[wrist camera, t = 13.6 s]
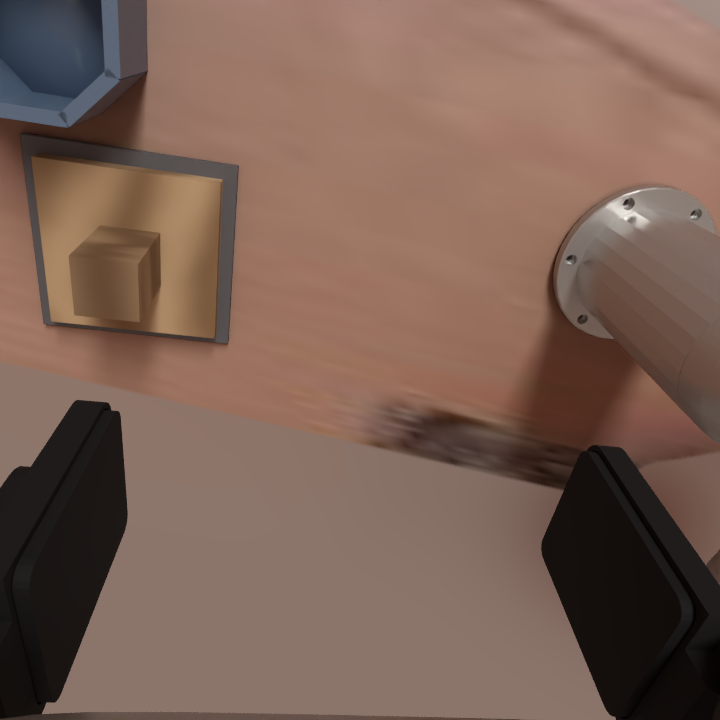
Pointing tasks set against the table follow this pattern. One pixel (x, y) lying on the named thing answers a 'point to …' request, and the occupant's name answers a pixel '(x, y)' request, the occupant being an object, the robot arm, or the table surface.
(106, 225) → the oak lid
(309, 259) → the table surface
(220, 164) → the charcoal mat
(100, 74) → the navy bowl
